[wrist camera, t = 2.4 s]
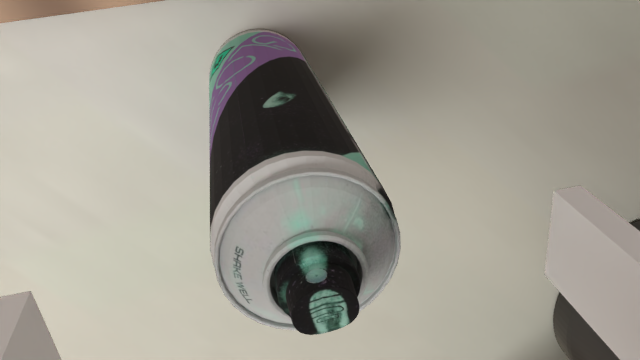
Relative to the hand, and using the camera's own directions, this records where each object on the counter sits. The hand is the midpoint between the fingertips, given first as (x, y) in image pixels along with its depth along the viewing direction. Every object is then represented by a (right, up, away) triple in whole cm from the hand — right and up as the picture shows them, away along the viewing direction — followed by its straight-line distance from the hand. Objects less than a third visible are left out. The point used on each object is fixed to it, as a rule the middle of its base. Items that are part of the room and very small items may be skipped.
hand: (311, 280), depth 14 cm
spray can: (-3, +8, +17) cm, 19 cm away
